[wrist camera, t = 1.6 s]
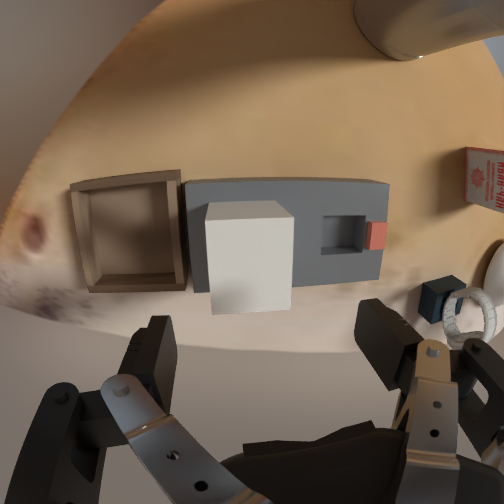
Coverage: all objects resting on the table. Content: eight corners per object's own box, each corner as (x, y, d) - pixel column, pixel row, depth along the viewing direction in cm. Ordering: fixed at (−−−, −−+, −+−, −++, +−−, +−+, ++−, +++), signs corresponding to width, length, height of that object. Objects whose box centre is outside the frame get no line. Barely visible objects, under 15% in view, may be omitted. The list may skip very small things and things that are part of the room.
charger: (210, 198, 23) (204, 220, 16) (270, 196, 24) (294, 217, 16) (213, 266, 25) (212, 314, 18) (270, 263, 26) (290, 309, 18)
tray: (84, 180, 22) (69, 184, 20) (180, 169, 23) (174, 171, 21) (100, 279, 26) (89, 292, 23) (188, 276, 27) (185, 290, 24)
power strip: (189, 180, 24) (183, 185, 20) (370, 179, 25) (393, 185, 22) (196, 275, 27) (193, 296, 23) (362, 265, 28) (382, 282, 25)
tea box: (481, 150, 25) (540, 160, 16) (479, 200, 28) (535, 220, 18) (465, 146, 25) (528, 155, 16) (463, 200, 27) (523, 221, 18)
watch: (415, 324, 33) (462, 373, 22) (425, 269, 30) (484, 313, 20) (444, 314, 33) (491, 357, 23) (454, 262, 30) (512, 299, 20)
